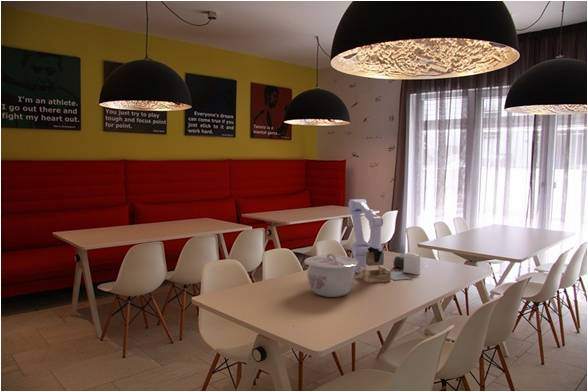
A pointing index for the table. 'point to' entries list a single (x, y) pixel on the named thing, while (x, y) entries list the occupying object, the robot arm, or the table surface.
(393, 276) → the slate mat
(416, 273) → the photo printer
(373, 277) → the wooden cubby shelf
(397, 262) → the rock
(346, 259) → the chamber pot
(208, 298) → the table surface
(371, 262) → the brown and grey block
